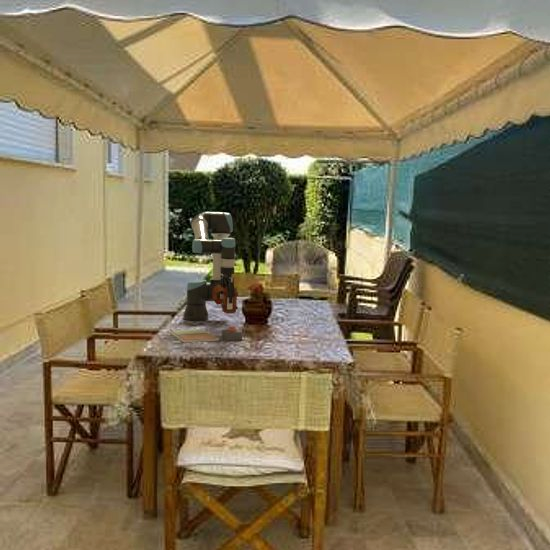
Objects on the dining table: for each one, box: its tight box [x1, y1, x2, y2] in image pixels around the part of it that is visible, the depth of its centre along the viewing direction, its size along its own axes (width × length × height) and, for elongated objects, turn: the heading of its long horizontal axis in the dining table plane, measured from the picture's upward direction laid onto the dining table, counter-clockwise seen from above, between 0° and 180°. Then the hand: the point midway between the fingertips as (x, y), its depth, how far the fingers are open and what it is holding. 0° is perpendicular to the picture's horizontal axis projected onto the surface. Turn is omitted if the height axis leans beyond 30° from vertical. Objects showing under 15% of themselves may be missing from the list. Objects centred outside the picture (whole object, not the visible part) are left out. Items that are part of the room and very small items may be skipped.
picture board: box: [168, 328, 219, 343], centre depth 333 cm, size 26×18×1 cm
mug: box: [212, 285, 239, 315], centre depth 345 cm, size 15×8×15 cm, turn 75°
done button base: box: [221, 328, 243, 341], centre depth 332 cm, size 8×8×4 cm
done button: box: [227, 326, 236, 332], centre depth 331 cm, size 4×4×4 cm
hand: (226, 307), depth 344 cm, fingers closed on mug, 10 cm apart
